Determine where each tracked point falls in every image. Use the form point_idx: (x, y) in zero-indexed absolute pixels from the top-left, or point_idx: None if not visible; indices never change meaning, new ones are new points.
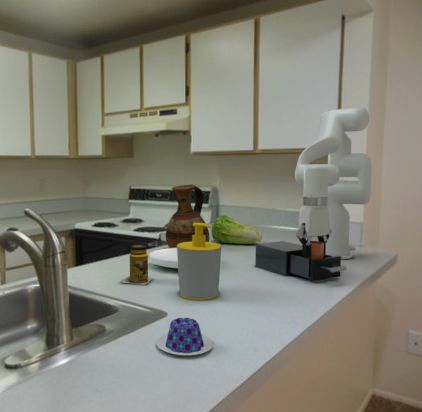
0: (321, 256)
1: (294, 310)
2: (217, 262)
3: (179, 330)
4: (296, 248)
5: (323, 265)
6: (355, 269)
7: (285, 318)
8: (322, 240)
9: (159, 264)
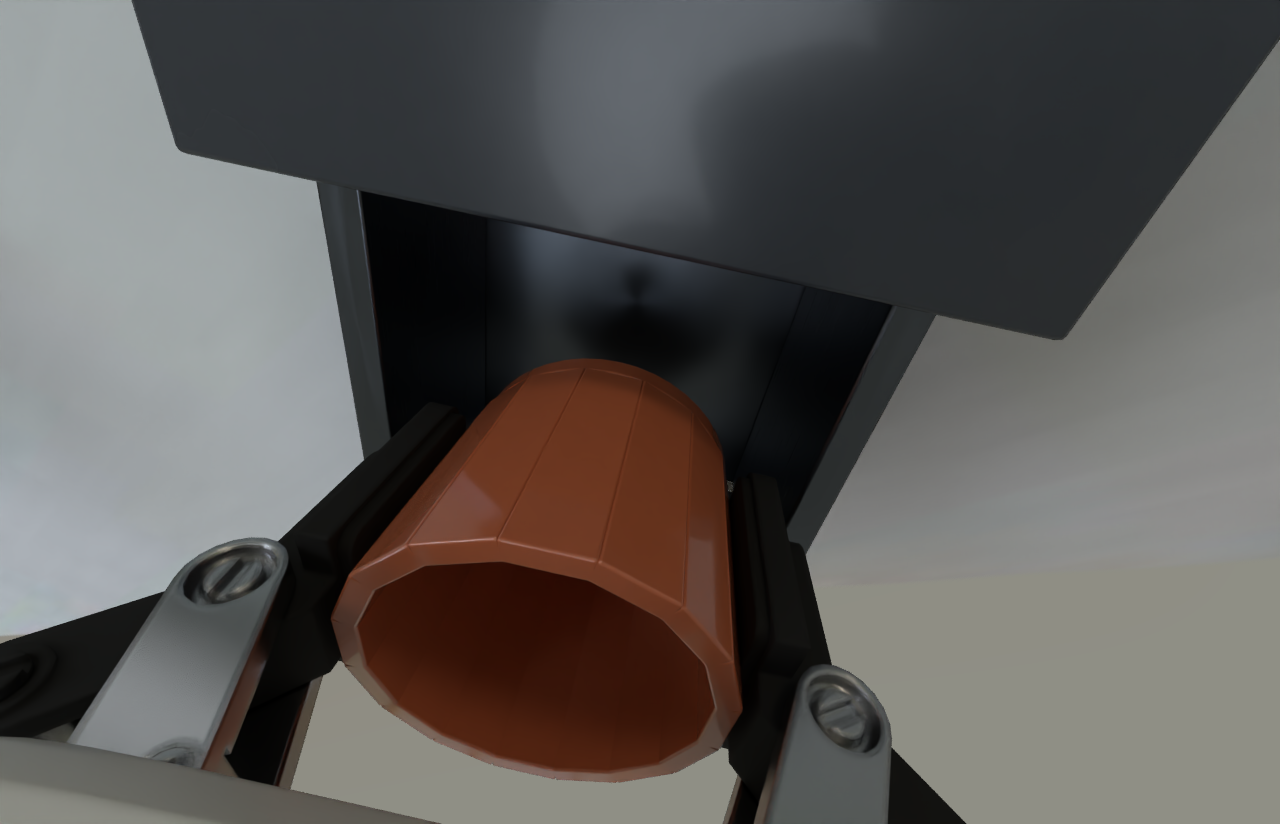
0: (585, 581)
1: (107, 561)
2: None
3: None
4: (660, 72)
5: None
6: (1237, 461)
7: (35, 574)
8: (755, 777)
9: None
